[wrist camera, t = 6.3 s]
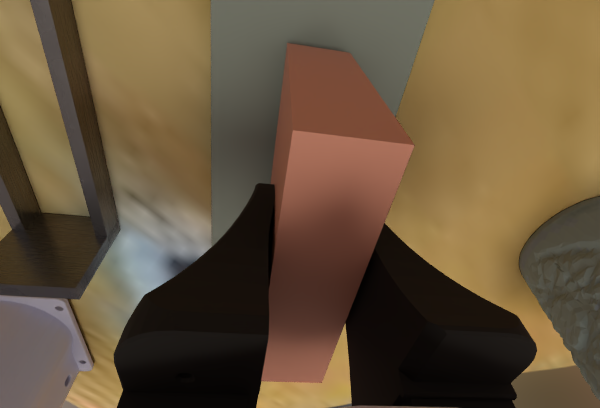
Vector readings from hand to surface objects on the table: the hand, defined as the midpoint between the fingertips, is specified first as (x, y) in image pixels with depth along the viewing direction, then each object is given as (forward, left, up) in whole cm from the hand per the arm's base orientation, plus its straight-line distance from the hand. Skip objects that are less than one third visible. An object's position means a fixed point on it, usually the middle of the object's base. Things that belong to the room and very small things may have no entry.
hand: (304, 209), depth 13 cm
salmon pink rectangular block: (0, 0, -4) cm, 4 cm away
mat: (0, 0, -5) cm, 5 cm away
